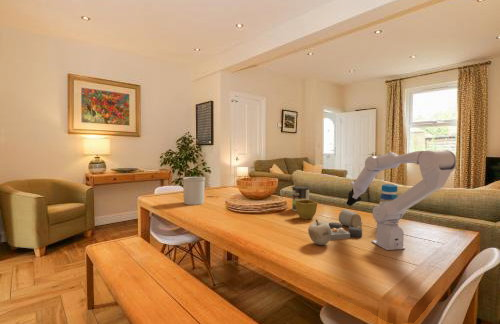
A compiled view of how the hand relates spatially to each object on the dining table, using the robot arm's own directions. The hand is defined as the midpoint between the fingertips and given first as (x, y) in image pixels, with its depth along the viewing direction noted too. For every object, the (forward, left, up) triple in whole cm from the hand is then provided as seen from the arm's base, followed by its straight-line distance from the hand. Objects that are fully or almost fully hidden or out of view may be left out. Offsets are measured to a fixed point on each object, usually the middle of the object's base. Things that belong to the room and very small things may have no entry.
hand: (350, 199), depth 125 cm
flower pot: (+24, +12, -14) cm, 30 cm away
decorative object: (-15, +22, -14) cm, 30 cm away
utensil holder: (+75, +73, -14) cm, 106 cm away
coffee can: (+43, +8, -14) cm, 46 cm away
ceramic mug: (+6, -4, -14) cm, 16 cm away
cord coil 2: (-8, +2, -14) cm, 16 cm away
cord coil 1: (+1, +7, -14) cm, 16 cm away
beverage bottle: (+3, -22, -14) cm, 26 cm away
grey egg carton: (-7, +11, -14) cm, 20 cm away
